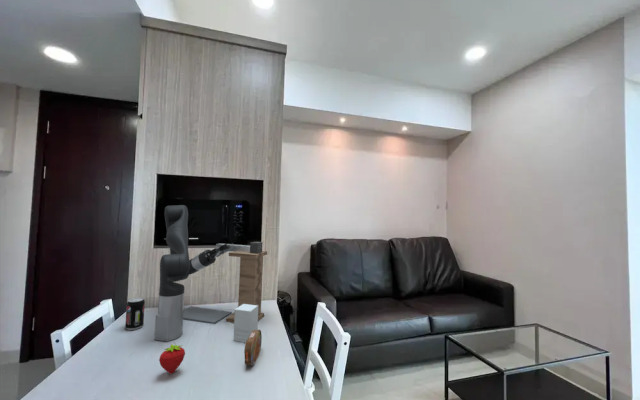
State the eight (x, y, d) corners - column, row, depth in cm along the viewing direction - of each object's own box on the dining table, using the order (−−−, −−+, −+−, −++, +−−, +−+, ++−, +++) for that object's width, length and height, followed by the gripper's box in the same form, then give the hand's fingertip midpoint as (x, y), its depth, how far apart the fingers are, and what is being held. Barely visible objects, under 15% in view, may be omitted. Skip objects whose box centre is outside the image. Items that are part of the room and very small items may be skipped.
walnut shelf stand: (252, 325, 126) (255, 255, 127) (225, 321, 129) (228, 252, 131) (264, 316, 138) (267, 251, 139) (239, 312, 141) (241, 249, 142)
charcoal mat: (214, 324, 126) (214, 322, 126) (170, 317, 132) (170, 315, 132) (231, 313, 140) (231, 311, 140) (190, 307, 146) (191, 306, 146)
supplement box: (258, 335, 116) (259, 305, 117) (249, 343, 109) (250, 311, 110) (242, 333, 118) (243, 303, 119) (232, 340, 111) (234, 308, 112)
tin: (251, 370, 91) (252, 344, 91) (241, 370, 91) (243, 344, 91) (262, 348, 106) (262, 325, 106) (253, 347, 106) (254, 325, 106)
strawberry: (154, 375, 87) (156, 342, 87) (179, 365, 93) (180, 334, 93) (163, 382, 83) (164, 349, 84) (187, 371, 89) (189, 340, 89)
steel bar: (257, 253, 131) (257, 243, 131) (214, 250, 136) (215, 240, 137) (262, 252, 136) (262, 242, 136) (220, 249, 141) (221, 239, 142)
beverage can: (141, 329, 118) (143, 301, 118) (122, 331, 116) (124, 302, 116) (144, 323, 124) (146, 296, 125) (127, 325, 122) (129, 297, 122)
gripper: (191, 255, 134) (218, 239, 131) (209, 251, 148) (234, 237, 145) (196, 269, 133) (224, 253, 130) (215, 264, 147) (240, 250, 144)
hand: (230, 245), depth 137 cm, fingers open, 5 cm apart
